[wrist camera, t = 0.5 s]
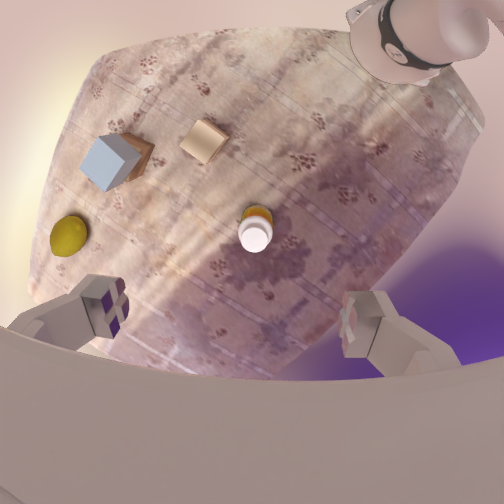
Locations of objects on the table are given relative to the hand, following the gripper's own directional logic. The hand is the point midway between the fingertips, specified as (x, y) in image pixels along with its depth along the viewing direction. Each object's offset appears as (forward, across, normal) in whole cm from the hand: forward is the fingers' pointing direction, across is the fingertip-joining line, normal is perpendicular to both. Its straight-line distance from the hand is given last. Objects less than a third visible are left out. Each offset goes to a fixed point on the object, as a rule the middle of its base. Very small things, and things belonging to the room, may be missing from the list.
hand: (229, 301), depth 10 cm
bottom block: (+40, +23, -1) cm, 46 cm away
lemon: (+40, +39, +14) cm, 58 cm away
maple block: (+40, +9, -3) cm, 41 cm away
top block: (+34, +23, -1) cm, 41 cm away
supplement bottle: (+40, 0, +11) cm, 42 cm away
